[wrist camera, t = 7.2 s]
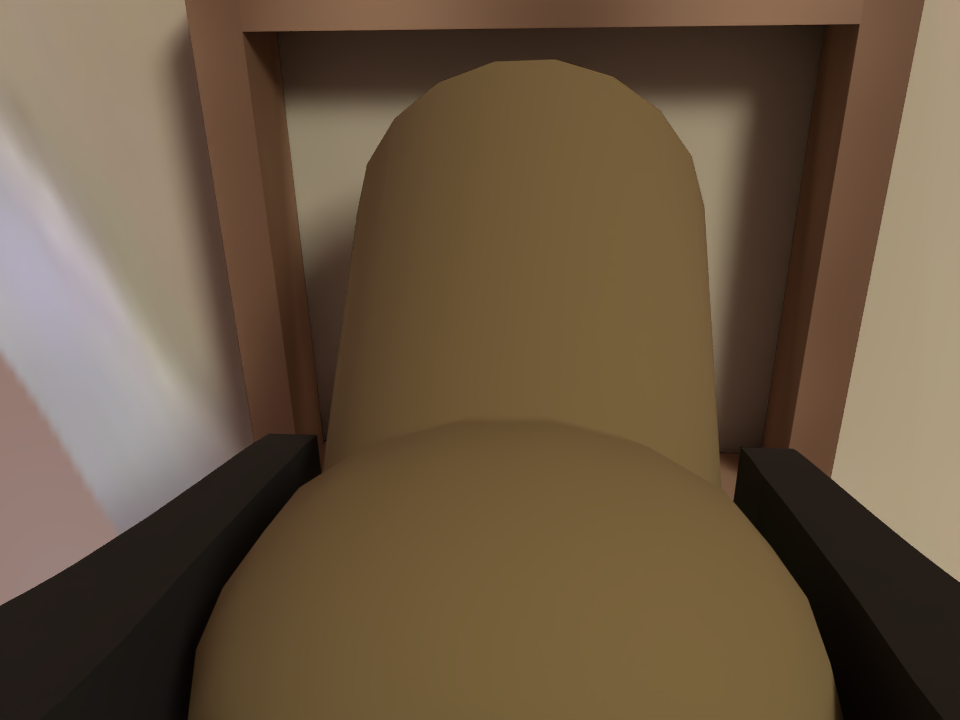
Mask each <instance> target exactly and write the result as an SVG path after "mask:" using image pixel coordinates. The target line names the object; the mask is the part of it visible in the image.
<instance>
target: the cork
mask: <svg viewBox="0 0 960 720" xmlns="http://www.w3.org/2000/svg"><path fill="white" fill-rule="evenodd" d="M188 720H844V718H843V714H842V710H841V706H840V702H839V697H838V693H837V689H836V685H835V681H834V676H833V672H832V668H831V664H830V661H829V658H828V655H827V653H826V650H825V647H824V644H823V641H822V638H821V635H820V633H819V630H818V627H817V624H816V621H815V618H814V615H813V612H812V610H811V607H810V604H809V601H808V598H807V597H806V595H805V594H804V593H803V591H802V590H801V588H800V587H799V585H798V584H797V583H796V581H795V580H794V578H793V577H792V576H791V574H790V573H789V571H788V570H787V568H786V567H785V566H784V564H783V563H782V561H781V560H780V558H779V557H778V556H777V554H776V553H775V551H774V550H773V548H772V547H771V546H770V545H769V543H768V542H767V541H766V540H765V539H764V537H763V536H762V535H761V534H760V533H759V531H758V530H757V529H756V528H755V527H754V526H753V524H752V523H751V522H750V521H749V520H748V518H747V517H746V516H745V515H744V514H743V512H742V511H741V510H740V509H739V508H738V507H737V505H736V504H735V503H734V502H733V501H732V499H731V498H730V497H729V496H728V495H727V493H726V492H725V491H724V490H722V489H721V473H720V456H719V440H718V423H717V407H716V390H715V374H714V358H713V341H712V325H711V308H710V292H709V275H708V259H707V242H706V226H705V210H704V204H703V200H702V196H701V192H700V188H699V184H698V180H697V176H696V172H695V168H694V164H693V160H692V156H691V155H690V153H689V152H688V150H687V149H686V147H685V146H684V144H683V143H682V141H681V140H680V138H679V137H678V136H677V134H676V133H675V131H674V130H673V128H672V127H671V125H670V124H669V122H668V121H667V119H666V118H665V117H664V115H663V114H662V112H661V111H660V110H659V109H657V108H656V107H655V106H653V105H652V104H650V103H649V102H648V101H646V100H645V99H644V98H642V97H641V96H639V95H638V94H637V93H635V92H634V91H632V90H631V89H630V88H628V87H627V86H625V85H624V84H623V83H621V82H620V81H619V80H617V79H616V78H614V77H613V76H609V75H606V74H603V73H599V72H596V71H593V70H589V69H586V68H582V67H579V66H576V65H572V64H569V63H566V62H562V61H559V60H556V59H553V60H524V61H496V62H492V63H489V64H487V65H484V66H481V67H479V68H476V69H473V70H471V71H468V72H465V73H462V74H460V75H457V76H454V77H452V78H449V79H446V80H444V81H441V82H439V83H437V84H436V85H435V86H434V87H432V88H431V89H430V90H429V91H428V92H426V93H425V94H424V95H423V96H422V97H420V98H419V99H418V100H417V101H415V102H414V103H413V104H412V105H411V106H409V107H408V108H407V109H406V110H405V111H403V112H402V113H401V114H400V115H398V116H397V117H396V118H395V119H394V121H393V122H392V124H391V126H390V127H389V129H388V131H387V132H386V134H385V135H384V137H383V139H382V140H381V142H380V144H379V145H378V147H377V149H376V150H375V152H374V154H373V155H372V157H371V159H370V160H369V162H368V164H367V167H366V172H365V177H364V182H363V187H362V192H361V197H360V202H359V207H358V212H357V218H356V226H355V233H354V241H353V248H352V255H351V263H350V270H349V277H348V285H347V292H346V300H345V307H344V314H343V322H342V329H341V336H340V344H339V351H338V359H337V366H336V373H335V381H334V388H333V395H332V403H331V410H330V418H329V425H328V432H327V440H326V447H325V454H324V462H323V469H322V474H320V475H319V476H317V477H316V478H314V479H312V480H311V481H309V482H308V483H306V484H304V485H303V486H301V487H299V488H298V490H297V491H296V492H295V493H294V495H293V496H292V497H291V498H290V500H289V501H288V502H287V503H286V505H285V506H284V507H283V508H282V510H281V511H280V512H279V513H278V514H277V516H276V517H275V518H274V519H273V521H272V522H271V523H270V524H269V526H268V527H267V528H266V529H265V531H264V532H263V533H262V535H261V536H260V537H259V539H258V540H257V541H256V543H255V544H254V546H253V547H252V548H251V550H250V551H249V552H248V554H247V555H246V557H245V558H244V559H243V561H242V562H241V563H240V565H239V566H238V568H237V569H236V570H235V572H234V573H233V574H232V576H231V577H230V579H229V580H228V581H227V583H226V584H225V585H224V587H223V588H222V590H221V593H220V595H219V597H218V600H217V602H216V604H215V607H214V609H213V611H212V614H211V616H210V618H209V621H208V623H207V625H206V628H205V630H204V632H203V635H202V637H201V639H200V642H199V644H198V646H197V649H196V655H195V663H194V671H193V679H192V688H191V696H190V704H189V712H188Z"/></svg>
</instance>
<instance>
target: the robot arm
mask: <svg viewBox="0 0 960 720" xmlns="http://www.w3.org/2000/svg"><path fill="white" fill-rule="evenodd" d="M320 474H322V473H321V465H320V456H319V448H318V440H317V435H305V434H270V433H269V434H268V435H266V436H264V437H262V438H261V439H259V440H257V441H256V442H254V443H253V444H251V445H250V446H248V447H247V448H245V449H244V450H243V451H241V452H240V453H238V454H237V455H235V456H234V457H233V458H231V459H230V460H228V461H227V462H226V463H224V464H223V465H221V466H220V467H219V468H217V469H216V470H214V471H213V472H212V473H210V474H209V475H207V476H206V477H205V478H203V479H202V480H200V481H199V482H197V483H196V484H195V485H193V486H192V487H190V488H189V489H187V490H186V491H185V492H183V493H182V494H180V495H179V496H177V497H176V498H175V499H173V500H172V501H170V502H169V503H167V504H166V505H165V506H163V507H162V508H160V509H159V510H157V511H156V512H155V513H153V514H152V515H150V516H149V517H147V518H146V519H144V520H143V521H141V522H139V523H138V524H136V525H135V526H133V527H132V528H130V529H129V530H127V531H125V532H124V533H122V534H121V535H119V536H118V537H116V538H114V539H113V540H111V541H110V542H108V543H107V544H105V545H103V546H102V547H100V548H99V549H97V550H96V551H94V552H93V553H91V554H89V555H88V556H86V557H85V558H83V559H82V560H80V561H78V562H77V563H75V564H74V565H72V566H70V567H69V568H67V569H65V570H64V571H62V572H60V573H58V574H57V575H55V576H54V577H52V578H50V579H48V580H46V581H45V582H43V583H41V584H39V585H38V586H36V587H34V588H32V589H30V590H29V591H27V592H25V593H23V594H21V595H19V596H17V597H16V598H14V599H12V600H10V601H8V602H6V603H4V604H3V605H1V606H0V720H188V712H189V704H190V696H191V688H192V679H193V671H194V663H195V655H196V649H197V646H198V644H199V642H200V639H201V637H202V635H203V632H204V630H205V628H206V625H207V623H208V621H209V618H210V616H211V614H212V611H213V609H214V607H215V604H216V602H217V600H218V597H219V595H220V593H221V590H222V588H223V587H224V585H225V584H226V583H227V581H228V580H229V579H230V577H231V576H232V574H233V573H234V572H235V570H236V569H237V568H238V566H239V565H240V563H241V562H242V561H243V559H244V558H245V557H246V555H247V554H248V552H249V551H250V550H251V548H252V547H253V546H254V544H255V543H256V541H257V540H258V539H259V537H260V536H261V535H262V533H263V532H264V531H265V529H266V528H267V527H268V526H269V524H270V523H271V522H272V521H273V519H274V518H275V517H276V516H277V514H278V513H279V512H280V511H281V510H282V508H283V507H284V506H285V505H286V503H287V502H288V501H289V500H290V498H291V497H292V496H293V495H294V493H295V492H296V491H297V490H298V488H299V487H301V486H303V485H304V484H306V483H308V482H309V481H311V480H312V479H314V478H316V477H317V476H319V475H320ZM733 502H734V503H735V504H736V505H737V507H738V508H739V509H740V510H741V511H742V512H743V514H744V515H745V516H746V517H747V518H748V520H749V521H750V522H751V523H752V524H753V526H754V527H755V528H756V529H757V530H758V531H759V533H760V534H761V535H762V536H763V537H764V539H765V540H766V541H767V542H768V543H769V545H770V546H771V547H772V548H773V550H774V551H775V553H776V554H777V556H778V557H779V558H780V560H781V561H782V563H783V564H784V566H785V567H786V568H787V570H788V571H789V573H790V574H791V576H792V577H793V578H794V580H795V581H796V583H797V584H798V585H799V587H800V588H801V590H802V591H803V593H804V594H805V595H806V597H807V598H808V601H809V604H810V607H811V610H812V612H813V615H814V618H815V621H816V624H817V627H818V630H819V633H820V635H821V638H822V641H823V644H824V647H825V650H826V653H827V655H828V658H829V661H830V664H831V668H832V672H833V676H834V681H835V685H836V689H837V693H838V697H839V702H840V706H841V710H842V714H843V718H844V720H960V582H958V581H957V580H956V579H954V578H953V577H952V576H950V575H949V574H948V573H946V572H945V571H944V570H942V569H941V568H940V567H938V566H937V565H936V564H935V563H933V562H932V561H931V560H929V559H928V558H927V557H925V556H924V555H923V554H922V553H920V552H919V551H918V550H916V549H915V548H914V547H913V546H911V545H910V544H909V543H908V542H906V541H905V540H904V539H903V538H901V537H900V536H899V535H898V534H897V533H895V532H894V531H893V530H892V529H890V528H889V527H888V526H887V525H885V524H884V523H883V522H882V521H881V520H879V519H878V518H877V517H876V516H875V515H873V514H872V513H871V512H870V511H869V510H867V509H866V508H865V507H864V506H863V505H861V504H860V503H859V502H858V501H857V500H856V499H854V498H853V497H852V496H851V495H850V494H848V493H847V492H846V491H845V490H844V489H843V488H841V487H840V486H839V485H838V484H837V483H835V482H834V481H833V480H832V479H831V478H830V477H828V476H827V475H826V474H825V473H824V472H822V471H821V470H820V469H819V468H818V467H817V466H815V465H814V464H813V463H812V462H810V461H809V460H808V459H807V458H805V457H804V456H803V455H802V454H800V453H799V452H798V451H796V450H795V449H788V448H754V447H741V449H740V456H739V464H738V471H737V478H736V485H735V493H734V500H733Z"/></svg>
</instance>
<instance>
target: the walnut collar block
mask: <svg viewBox="0 0 960 720" xmlns="http://www.w3.org/2000/svg"><path fill="white" fill-rule="evenodd" d="M185 4H186V11H187V17H188V24H189V30H190V36H191V43H192V49H193V55H194V62H195V68H196V74H197V81H198V87H199V94H200V100H201V106H202V113H203V119H204V125H205V132H206V138H207V144H208V151H209V157H210V164H211V170H212V176H213V183H214V189H215V195H216V202H217V208H218V214H219V221H220V227H221V234H222V240H223V246H224V253H225V259H226V265H227V272H228V278H229V285H230V291H231V297H232V304H233V310H234V316H235V323H236V329H237V335H238V342H239V348H240V355H241V361H242V367H243V374H244V380H245V386H246V393H247V399H248V405H249V412H250V418H251V425H252V431H253V437H254V442H256V441H257V440H259V439H261V438H262V437H264V436H266V435H268V434H269V433H270V434H305V435H317V440H318V448H319V456H320V465H321V473H322V469H323V462H324V454H325V447H326V441H323V433H322V424H321V415H320V407H319V398H318V389H317V381H316V372H315V363H314V355H313V346H312V337H311V328H310V320H309V311H308V302H307V294H306V285H305V276H304V268H303V259H302V250H301V242H300V233H299V224H298V215H297V207H296V198H295V189H294V181H293V172H292V163H291V155H290V146H289V137H288V129H287V120H286V111H285V103H284V94H283V85H282V76H281V68H280V59H279V50H278V42H277V33H276V31H335V30H416V29H496V28H576V27H656V26H736V25H816V24H825V30H824V37H823V44H822V50H821V57H820V63H819V70H818V77H817V83H816V90H815V97H814V103H813V110H812V117H811V123H810V130H809V136H808V143H807V150H806V156H805V163H804V170H803V176H802V183H801V189H800V196H799V203H798V209H797V216H796V223H795V229H794V236H793V243H792V249H791V256H790V262H789V269H788V276H787V282H786V289H785V296H784V302H783V309H782V316H781V322H780V329H779V335H778V342H777V349H776V355H775V362H774V369H773V375H772V382H771V389H770V395H769V402H768V408H767V415H766V422H765V428H764V435H763V442H762V448H788V449H795V450H796V451H798V452H799V453H800V454H802V455H803V456H804V457H805V458H807V459H808V460H809V461H810V462H812V463H813V464H814V465H815V466H817V467H818V468H819V469H820V470H821V471H822V472H824V473H825V474H826V475H827V476H828V477H830V478H831V474H832V469H833V464H834V459H835V454H836V449H837V443H838V438H839V433H840V428H841V423H842V418H843V413H844V408H845V403H846V398H847V393H848V387H849V382H850V377H851V372H852V367H853V362H854V357H855V352H856V347H857V342H858V337H859V331H860V326H861V321H862V316H863V311H864V306H865V301H866V296H867V291H868V286H869V281H870V275H871V270H872V265H873V260H874V255H875V250H876V245H877V240H878V235H879V230H880V225H881V219H882V214H883V209H884V204H885V199H886V194H887V189H888V184H889V179H890V174H891V168H892V163H893V158H894V153H895V148H896V143H897V138H898V133H899V128H900V123H901V118H902V112H903V107H904V102H905V97H906V92H907V87H908V82H909V77H910V72H911V67H912V62H913V56H914V51H915V46H916V41H917V36H918V31H919V26H920V21H921V16H922V11H923V6H924V0H185ZM719 456H720V473H721V489H722V490H724V491H725V492H726V493H727V495H728V496H729V497H730V498H731V499H732V501H733V500H734V493H735V485H736V478H737V471H738V464H739V456H740V454H734V453H719Z"/></svg>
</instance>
